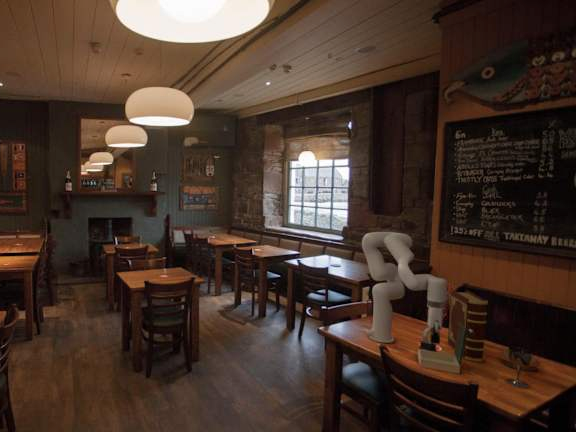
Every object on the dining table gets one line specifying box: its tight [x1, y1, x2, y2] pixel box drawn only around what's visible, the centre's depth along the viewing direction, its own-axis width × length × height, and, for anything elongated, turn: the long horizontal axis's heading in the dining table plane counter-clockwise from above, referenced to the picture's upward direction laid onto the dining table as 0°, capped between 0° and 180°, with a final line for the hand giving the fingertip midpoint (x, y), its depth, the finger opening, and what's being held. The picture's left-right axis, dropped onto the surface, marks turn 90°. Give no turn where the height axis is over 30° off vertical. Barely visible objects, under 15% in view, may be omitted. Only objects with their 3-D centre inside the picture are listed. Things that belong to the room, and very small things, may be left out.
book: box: [417, 348, 461, 374], centre depth 187 cm, size 16×13×4 cm
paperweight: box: [428, 331, 441, 345], centre depth 186 cm, size 4×4×4 cm
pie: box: [498, 350, 542, 372], centre depth 186 cm, size 15×16×5 cm
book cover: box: [453, 322, 475, 366], centre depth 181 cm, size 16×13×5 cm
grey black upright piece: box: [419, 327, 437, 352], centre depth 204 cm, size 6×8×11 cm
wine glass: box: [506, 346, 533, 389], centre depth 168 cm, size 8×8×15 cm
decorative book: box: [447, 289, 489, 363], centre depth 200 cm, size 22×8×30 cm, turn 168°
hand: (434, 341), depth 186 cm, fingers closed on paperweight, 4 cm apart
